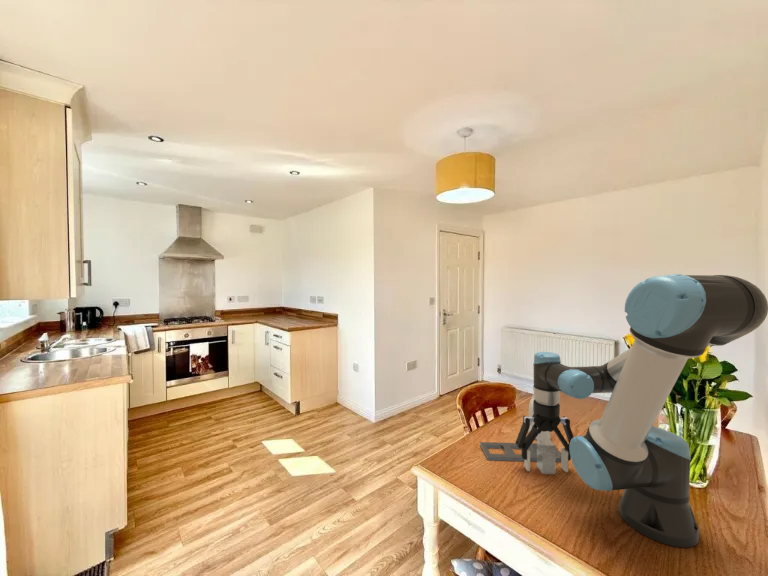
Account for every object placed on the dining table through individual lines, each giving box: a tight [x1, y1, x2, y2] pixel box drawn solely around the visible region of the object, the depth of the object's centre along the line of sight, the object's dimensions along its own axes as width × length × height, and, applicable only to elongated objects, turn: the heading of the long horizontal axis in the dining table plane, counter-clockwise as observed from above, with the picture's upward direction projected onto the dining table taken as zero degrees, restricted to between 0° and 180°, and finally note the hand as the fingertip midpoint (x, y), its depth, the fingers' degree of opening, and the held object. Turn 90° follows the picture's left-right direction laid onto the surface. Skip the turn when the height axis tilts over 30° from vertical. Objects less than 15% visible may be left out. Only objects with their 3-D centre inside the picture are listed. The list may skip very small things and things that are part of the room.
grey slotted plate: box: [479, 441, 561, 463], centre depth 113 cm, size 10×26×1 cm, turn 88°
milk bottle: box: [528, 384, 552, 440], centre depth 125 cm, size 8×8×20 cm
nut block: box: [536, 438, 557, 475], centre depth 102 cm, size 4×4×9 cm
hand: (545, 469), depth 102 cm, fingers open, 11 cm apart
